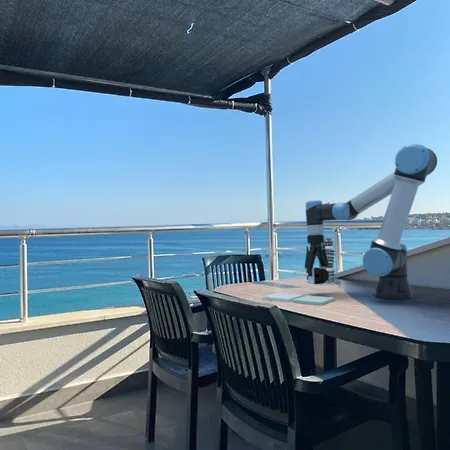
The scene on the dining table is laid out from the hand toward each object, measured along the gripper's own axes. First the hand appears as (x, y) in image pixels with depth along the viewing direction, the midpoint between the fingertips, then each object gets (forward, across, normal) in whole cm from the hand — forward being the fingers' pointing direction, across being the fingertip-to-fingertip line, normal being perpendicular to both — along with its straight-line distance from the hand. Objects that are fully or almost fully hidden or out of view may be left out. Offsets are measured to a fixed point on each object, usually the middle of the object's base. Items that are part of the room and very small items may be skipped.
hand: (317, 282), depth 193 cm
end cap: (0, 0, 0) cm, 0 cm away
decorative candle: (+6, -37, -14) cm, 40 cm away
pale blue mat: (+6, +16, -9) cm, 19 cm away
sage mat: (+6, +16, +6) cm, 18 cm away
